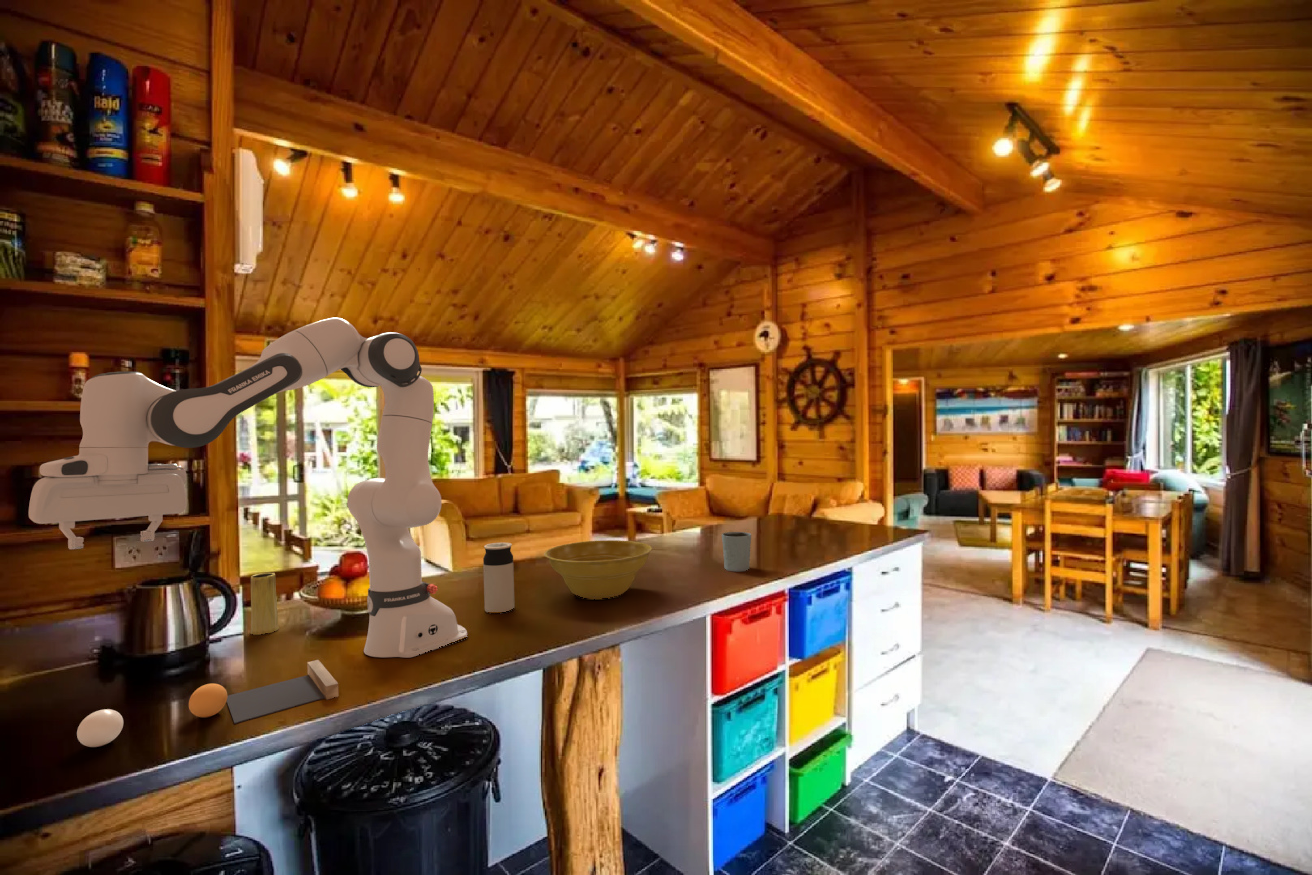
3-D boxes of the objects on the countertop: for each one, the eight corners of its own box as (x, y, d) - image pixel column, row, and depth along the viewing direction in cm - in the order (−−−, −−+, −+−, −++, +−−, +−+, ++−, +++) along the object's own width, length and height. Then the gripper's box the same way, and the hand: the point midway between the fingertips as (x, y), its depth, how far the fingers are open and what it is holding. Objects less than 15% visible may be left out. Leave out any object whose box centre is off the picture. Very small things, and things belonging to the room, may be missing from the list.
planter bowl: (545, 583, 191) (544, 542, 191) (644, 577, 197) (643, 536, 197) (545, 614, 159) (543, 564, 159) (662, 605, 165) (661, 557, 165)
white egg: (124, 732, 100) (122, 700, 100) (123, 744, 96) (122, 711, 96) (78, 744, 97) (77, 710, 96) (76, 757, 92) (75, 722, 92)
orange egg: (226, 705, 109) (225, 675, 109) (229, 715, 105) (228, 684, 105) (188, 715, 106) (187, 684, 106) (190, 726, 102) (189, 694, 102)
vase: (269, 634, 148) (267, 577, 147) (244, 635, 148) (242, 578, 147) (284, 626, 154) (282, 571, 154) (260, 627, 154) (258, 572, 154)
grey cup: (719, 571, 203) (718, 536, 202) (725, 564, 212) (725, 530, 212) (749, 572, 199) (748, 537, 199) (754, 565, 209) (753, 531, 209)
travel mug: (499, 616, 159) (497, 548, 158) (478, 611, 163) (476, 546, 163) (520, 607, 166) (518, 543, 165) (500, 604, 170) (498, 541, 169)
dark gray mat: (308, 675, 122) (308, 674, 122) (325, 697, 112) (325, 696, 112) (225, 697, 113) (225, 696, 113) (234, 723, 102) (234, 722, 102)
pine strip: (318, 671, 124) (318, 659, 124) (338, 696, 112) (338, 683, 112) (307, 674, 123) (307, 662, 123) (326, 699, 111) (326, 686, 111)
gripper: (178, 463, 113) (177, 535, 113) (26, 465, 96) (24, 551, 96) (193, 463, 110) (192, 538, 110) (38, 466, 93) (36, 555, 92)
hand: (112, 544), depth 103 cm, fingers open, 8 cm apart
